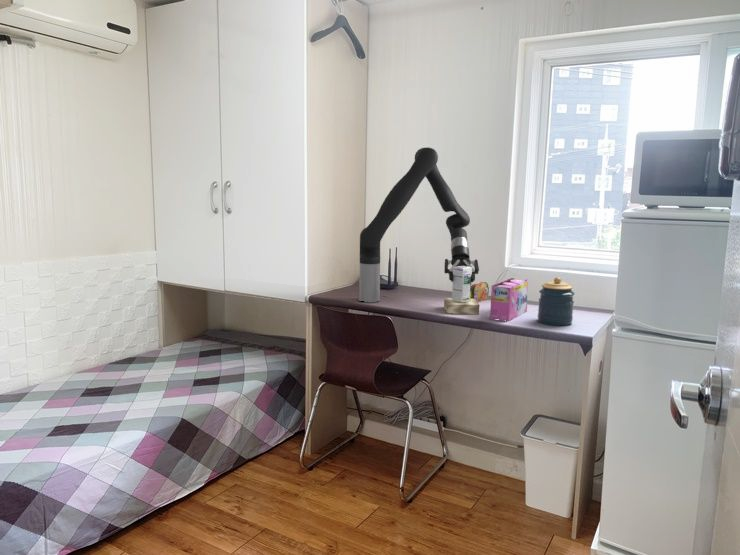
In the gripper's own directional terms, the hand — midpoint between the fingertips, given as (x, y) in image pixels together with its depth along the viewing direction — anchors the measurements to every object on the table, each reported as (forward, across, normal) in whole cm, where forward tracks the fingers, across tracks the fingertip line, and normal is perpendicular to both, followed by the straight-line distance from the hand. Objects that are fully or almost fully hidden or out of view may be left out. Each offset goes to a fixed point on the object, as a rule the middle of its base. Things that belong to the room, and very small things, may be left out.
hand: (462, 280), depth 230 cm
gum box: (+13, +19, +6) cm, 24 cm away
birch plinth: (+8, 0, +10) cm, 13 cm away
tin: (-7, +11, +26) cm, 29 cm away
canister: (+20, +34, -2) cm, 40 cm away
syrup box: (+5, 0, +7) cm, 9 cm away
